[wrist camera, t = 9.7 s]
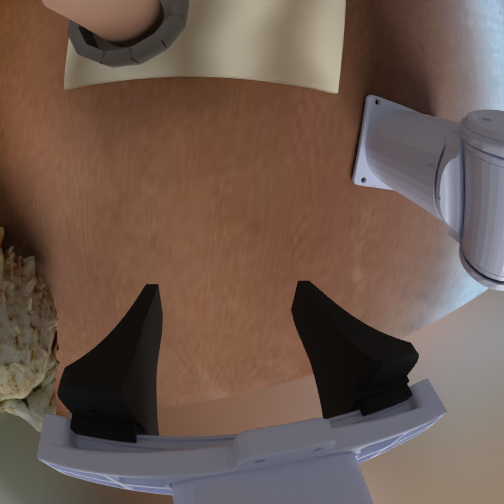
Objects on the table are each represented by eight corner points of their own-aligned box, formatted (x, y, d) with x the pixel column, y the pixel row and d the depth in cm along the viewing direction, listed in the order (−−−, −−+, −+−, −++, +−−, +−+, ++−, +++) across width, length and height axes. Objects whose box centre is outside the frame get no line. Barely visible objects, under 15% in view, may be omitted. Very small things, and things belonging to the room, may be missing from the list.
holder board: (340, -5, 13) (362, -17, 10) (331, 93, 17) (354, 93, 15) (86, -14, 9) (69, -28, 6) (69, 89, 14) (46, 89, 11)
